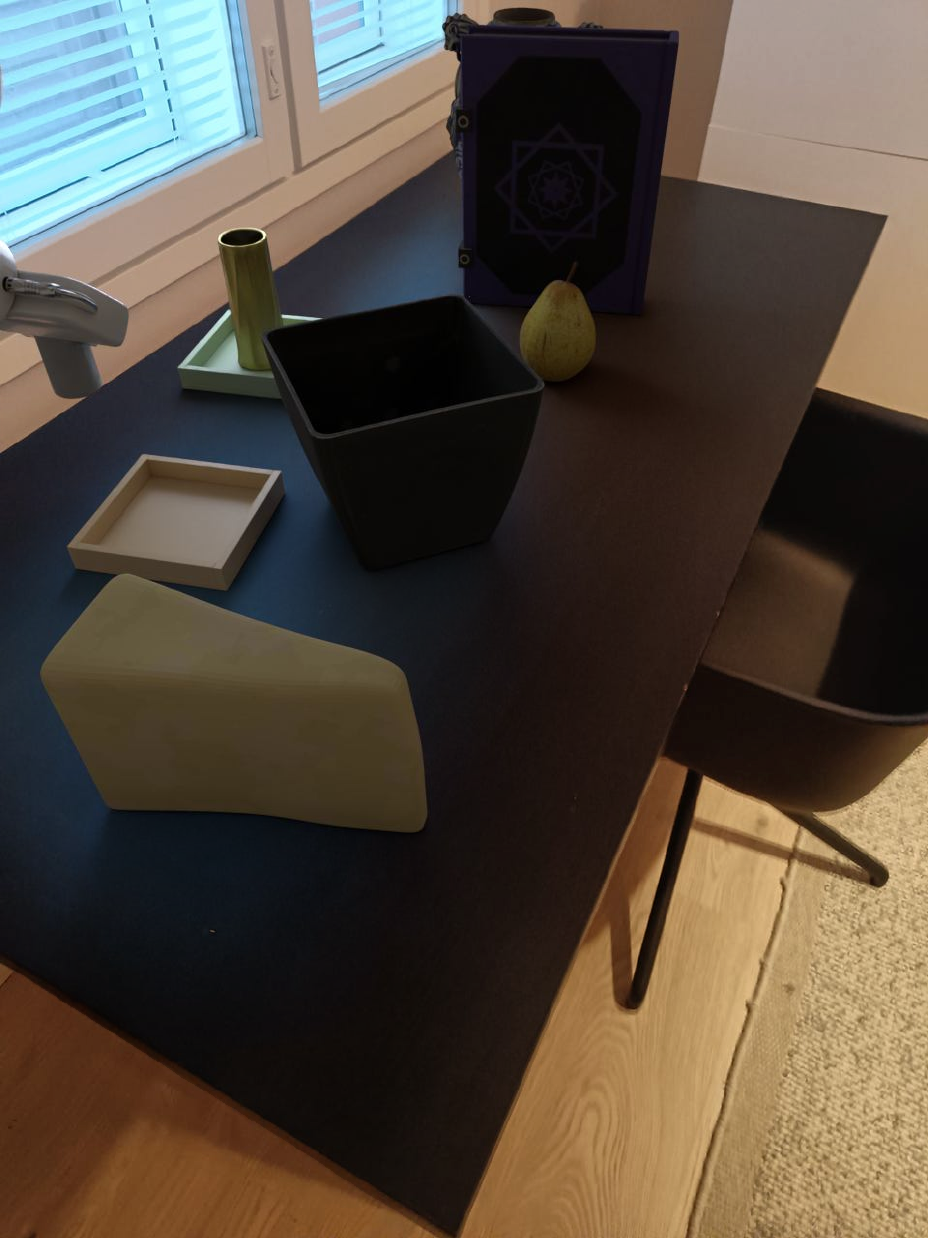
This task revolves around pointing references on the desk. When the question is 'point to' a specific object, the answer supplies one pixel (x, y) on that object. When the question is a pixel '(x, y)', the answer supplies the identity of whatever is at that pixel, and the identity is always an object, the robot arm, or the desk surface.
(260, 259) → the vase
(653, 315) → the desk surface
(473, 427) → the flower pot
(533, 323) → the fruit
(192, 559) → the tray
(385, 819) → the cheese
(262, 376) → the vase tray
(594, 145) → the book
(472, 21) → the decorative vase
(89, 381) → the grey tapered cylinder
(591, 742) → the desk surface
